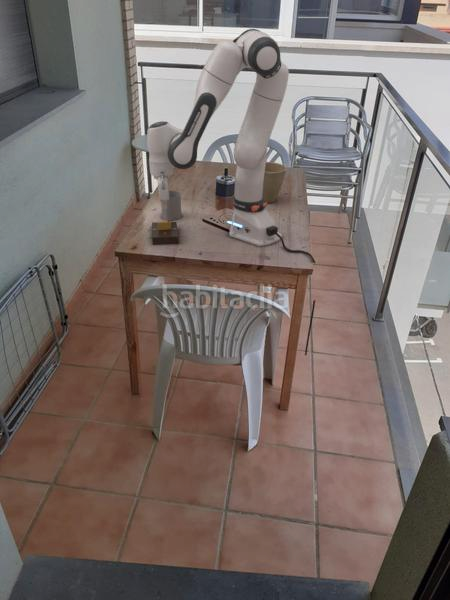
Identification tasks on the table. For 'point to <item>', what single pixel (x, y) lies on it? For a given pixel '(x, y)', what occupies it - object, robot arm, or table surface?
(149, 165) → the robot arm
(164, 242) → the lock plate
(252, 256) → the table surface
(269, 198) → the plant pot
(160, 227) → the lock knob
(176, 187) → the table surface
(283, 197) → the table surface
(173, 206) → the cup
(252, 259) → the table surface
